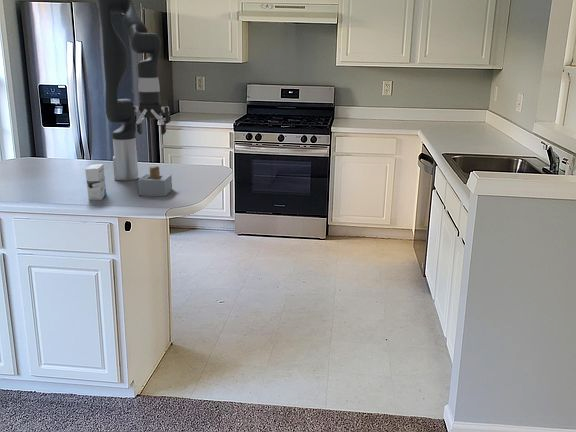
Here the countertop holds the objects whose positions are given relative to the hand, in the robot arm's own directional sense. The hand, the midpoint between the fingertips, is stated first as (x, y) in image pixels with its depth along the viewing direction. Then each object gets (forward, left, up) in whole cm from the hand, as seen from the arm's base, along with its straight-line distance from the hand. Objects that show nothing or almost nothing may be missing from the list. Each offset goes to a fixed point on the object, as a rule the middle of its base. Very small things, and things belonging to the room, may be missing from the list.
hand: (151, 134), depth 211 cm
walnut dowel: (0, 0, -23) cm, 23 cm away
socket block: (0, 0, -23) cm, 23 cm away
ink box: (-20, -8, -23) cm, 31 cm away
